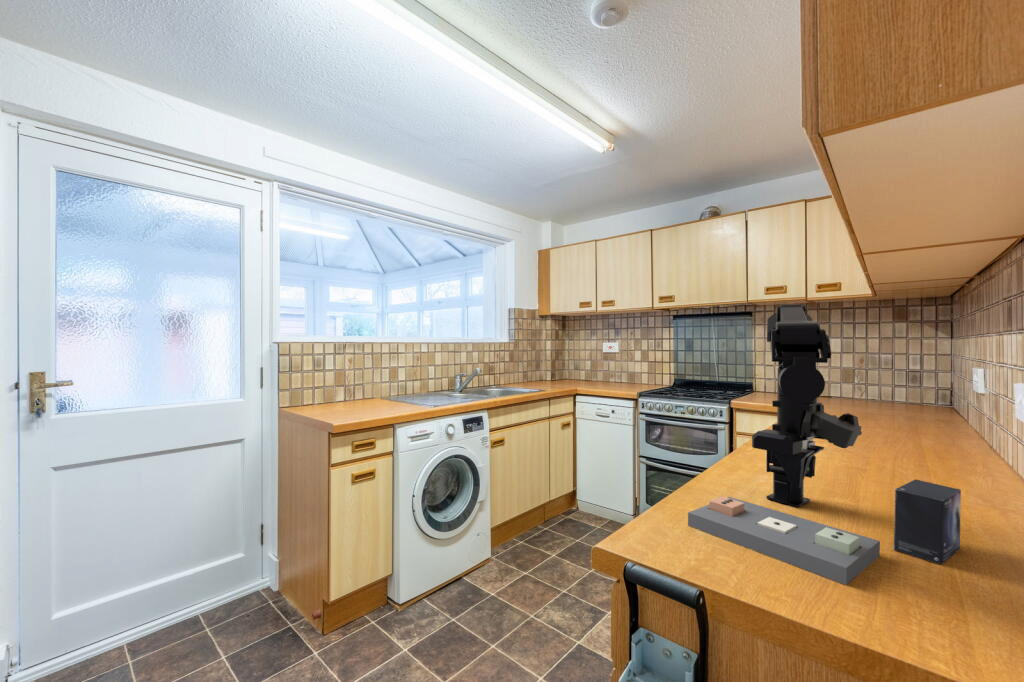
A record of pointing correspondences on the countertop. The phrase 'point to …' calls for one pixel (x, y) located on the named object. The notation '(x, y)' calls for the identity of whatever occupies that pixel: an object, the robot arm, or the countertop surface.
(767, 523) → the one-dot button
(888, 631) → the countertop surface
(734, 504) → the three-dot button
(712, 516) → the button board
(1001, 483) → the countertop surface
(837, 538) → the two-dot button
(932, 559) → the small box
